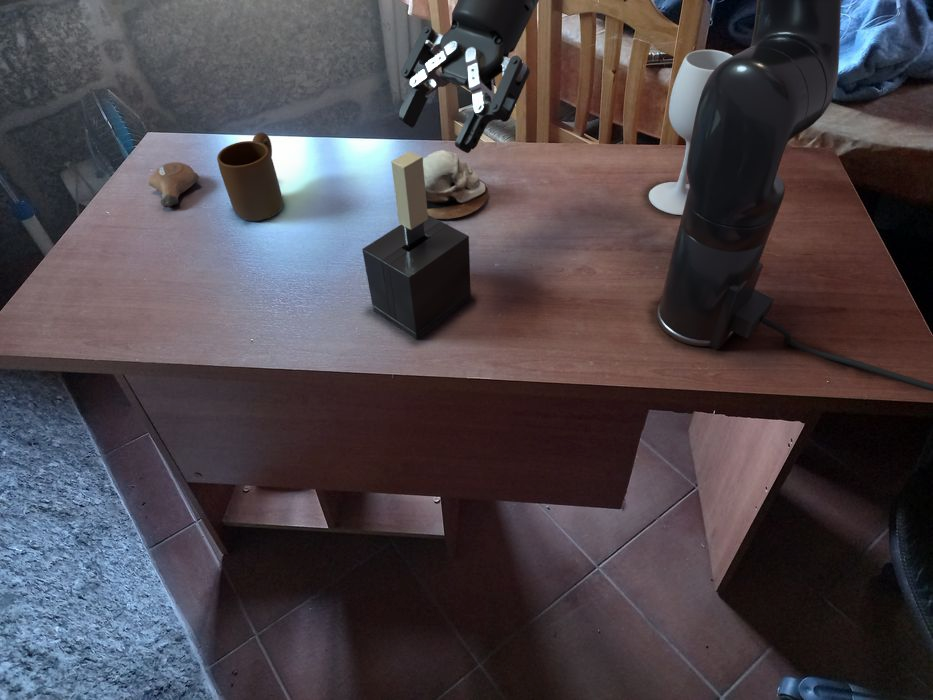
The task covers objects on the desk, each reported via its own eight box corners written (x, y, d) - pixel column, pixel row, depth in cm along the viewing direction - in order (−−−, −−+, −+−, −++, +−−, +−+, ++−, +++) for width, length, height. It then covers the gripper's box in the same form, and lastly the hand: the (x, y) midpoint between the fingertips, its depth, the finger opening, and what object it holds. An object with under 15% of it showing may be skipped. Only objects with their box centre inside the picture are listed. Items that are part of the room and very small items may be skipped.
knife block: (471, 298, 85) (469, 235, 78) (416, 339, 80) (409, 277, 73) (427, 272, 89) (421, 211, 82) (373, 310, 84) (361, 248, 77)
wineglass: (690, 179, 103) (724, 42, 88) (718, 210, 97) (760, 68, 82) (639, 189, 101) (664, 51, 86) (664, 220, 96) (697, 78, 80)
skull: (485, 165, 105) (489, 144, 95) (487, 229, 105) (491, 214, 95) (411, 166, 105) (407, 145, 95) (412, 230, 105) (408, 216, 95)
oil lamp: (139, 204, 104) (175, 217, 101) (127, 184, 101) (163, 197, 98) (179, 170, 109) (214, 183, 106) (168, 150, 105) (204, 162, 103)
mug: (255, 178, 107) (239, 124, 100) (300, 181, 106) (286, 126, 99) (226, 221, 99) (206, 165, 92) (274, 224, 98) (257, 168, 91)
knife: (435, 296, 84) (422, 156, 70) (419, 307, 83) (404, 167, 68) (424, 289, 85) (409, 150, 71) (408, 301, 84) (390, 161, 69)
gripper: (434, -42, 68) (367, 102, 71) (541, -14, 62) (463, 145, 64) (469, -2, 75) (407, 129, 78) (570, 28, 68) (498, 170, 71)
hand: (432, 136), depth 71 cm, fingers open, 8 cm apart
